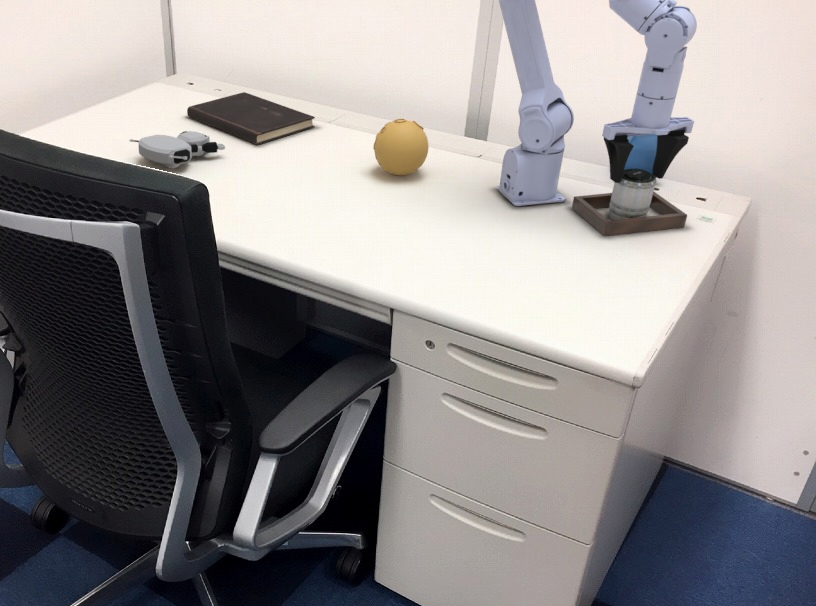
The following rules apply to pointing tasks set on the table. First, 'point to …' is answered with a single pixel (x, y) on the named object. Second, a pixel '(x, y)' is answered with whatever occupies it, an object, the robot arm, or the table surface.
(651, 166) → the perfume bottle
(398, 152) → the stress ball
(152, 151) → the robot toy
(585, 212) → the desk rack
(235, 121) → the hardcover book
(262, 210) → the table surface
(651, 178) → the camera lens
